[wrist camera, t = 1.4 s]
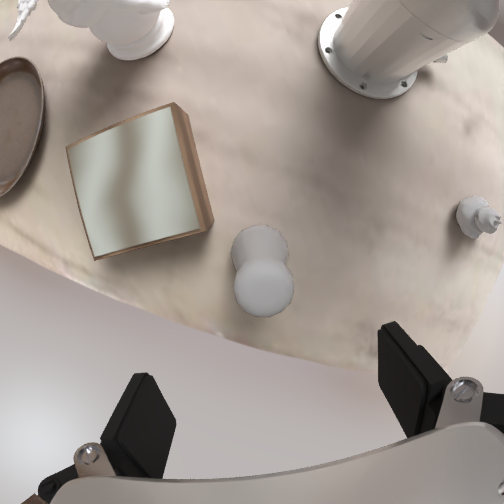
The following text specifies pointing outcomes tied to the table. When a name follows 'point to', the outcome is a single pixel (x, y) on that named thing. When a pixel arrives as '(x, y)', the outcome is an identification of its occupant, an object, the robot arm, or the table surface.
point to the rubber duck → (477, 217)
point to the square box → (139, 182)
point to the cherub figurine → (113, 22)
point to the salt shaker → (261, 271)
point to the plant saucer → (19, 118)
